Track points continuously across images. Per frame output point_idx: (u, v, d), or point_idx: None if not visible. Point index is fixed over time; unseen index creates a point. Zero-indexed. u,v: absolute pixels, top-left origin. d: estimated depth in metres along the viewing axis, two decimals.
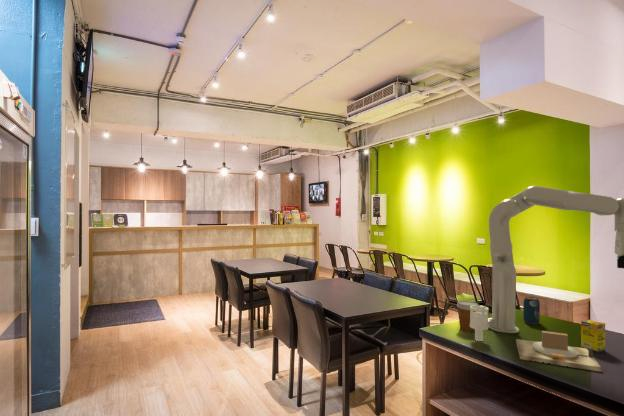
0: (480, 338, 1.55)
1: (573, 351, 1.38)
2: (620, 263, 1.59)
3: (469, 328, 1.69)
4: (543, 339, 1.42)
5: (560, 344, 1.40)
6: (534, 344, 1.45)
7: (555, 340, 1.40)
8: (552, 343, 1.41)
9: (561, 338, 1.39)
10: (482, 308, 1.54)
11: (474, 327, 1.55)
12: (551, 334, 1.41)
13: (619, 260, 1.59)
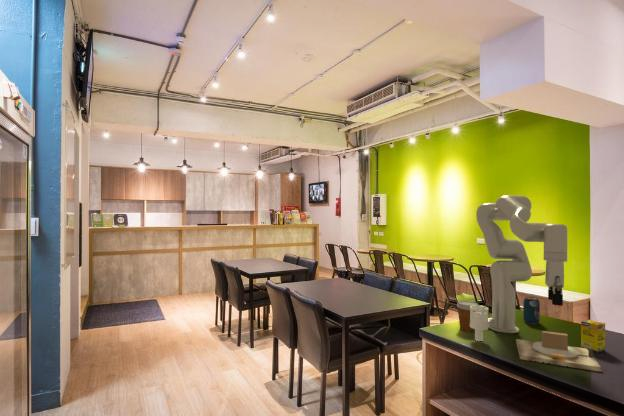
0: (480, 338, 1.55)
1: (573, 351, 1.38)
2: (551, 294, 1.46)
3: (469, 328, 1.69)
4: (543, 339, 1.42)
5: (560, 344, 1.40)
6: (534, 344, 1.45)
7: (555, 340, 1.40)
8: (552, 343, 1.41)
9: (561, 338, 1.39)
10: (482, 308, 1.54)
11: (474, 327, 1.55)
12: (551, 334, 1.41)
13: (550, 291, 1.46)
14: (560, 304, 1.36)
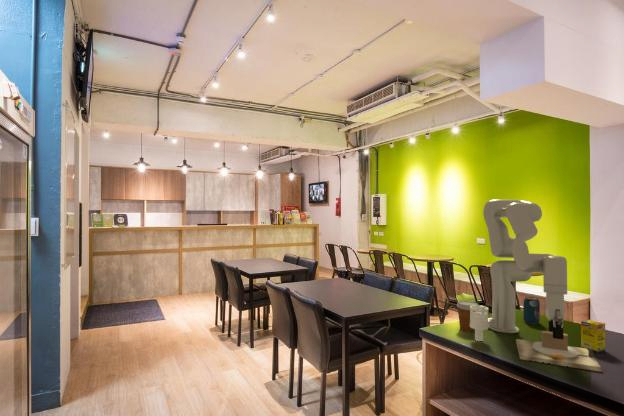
0: (480, 338, 1.55)
1: (573, 351, 1.38)
2: (551, 326, 1.45)
3: (469, 328, 1.69)
4: (543, 339, 1.42)
5: (560, 344, 1.40)
6: (534, 344, 1.45)
7: (555, 340, 1.40)
8: (552, 343, 1.41)
9: None
10: (482, 308, 1.54)
11: (474, 327, 1.55)
12: (551, 334, 1.41)
13: (550, 323, 1.45)
14: (561, 338, 1.36)
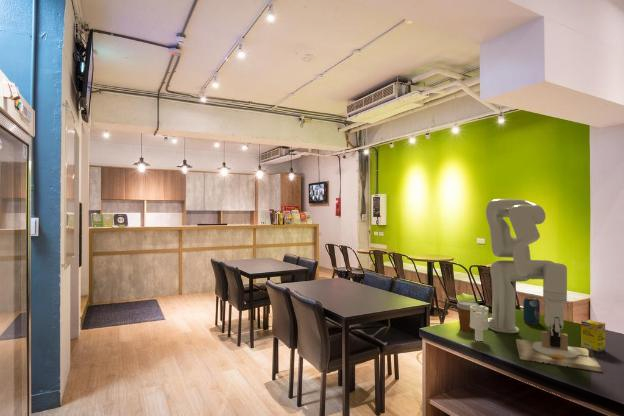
0: (480, 338, 1.55)
1: (573, 351, 1.38)
2: None
3: (469, 328, 1.69)
4: (543, 339, 1.42)
5: (560, 344, 1.40)
6: (534, 344, 1.45)
7: None
8: None
9: (561, 338, 1.39)
10: (482, 308, 1.54)
11: (474, 327, 1.55)
12: None
13: None
14: (558, 346, 1.39)
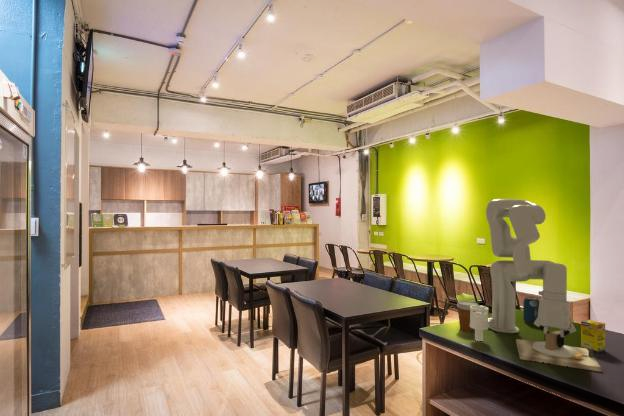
0: (480, 338, 1.55)
1: (565, 346, 1.43)
2: None
3: (469, 328, 1.69)
4: (552, 342, 1.39)
5: None
6: (542, 350, 1.39)
7: (558, 340, 1.40)
8: (556, 344, 1.40)
9: None
10: (482, 308, 1.54)
11: (474, 327, 1.55)
12: (556, 335, 1.40)
13: None
14: None
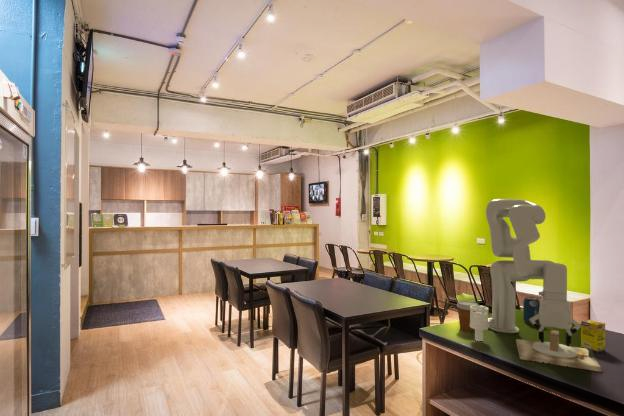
0: (480, 338, 1.55)
1: (558, 344, 1.45)
2: None
3: (469, 328, 1.69)
4: (557, 343, 1.38)
5: (558, 342, 1.42)
6: (550, 352, 1.37)
7: (558, 340, 1.41)
8: None
9: (558, 336, 1.42)
10: (482, 308, 1.54)
11: (474, 327, 1.55)
12: (557, 335, 1.40)
13: (543, 334, 1.42)
14: None
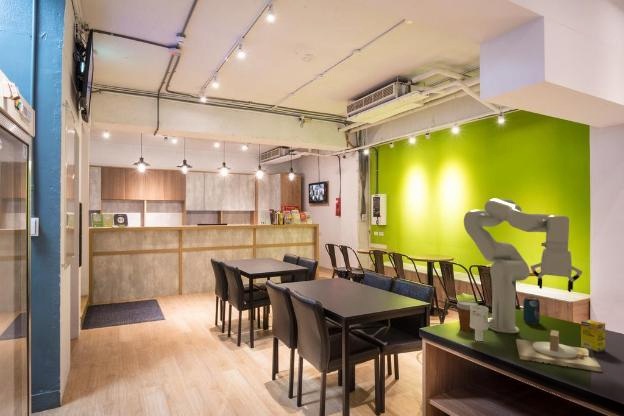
0: (480, 338, 1.55)
1: (558, 344, 1.45)
2: (541, 283, 1.51)
3: (469, 328, 1.69)
4: (557, 343, 1.38)
5: (558, 342, 1.42)
6: (550, 352, 1.37)
7: (558, 340, 1.41)
8: None
9: (558, 336, 1.42)
10: (482, 308, 1.54)
11: (474, 327, 1.55)
12: (557, 335, 1.40)
13: None
14: None
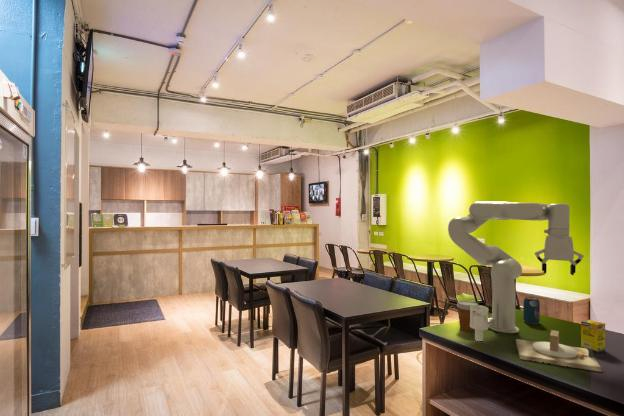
0: (480, 338, 1.55)
1: (558, 344, 1.45)
2: None
3: (469, 328, 1.69)
4: (557, 343, 1.38)
5: (558, 342, 1.42)
6: (550, 352, 1.37)
7: (558, 340, 1.41)
8: None
9: (558, 336, 1.42)
10: (482, 308, 1.54)
11: (474, 327, 1.55)
12: (557, 335, 1.40)
13: None
14: None
